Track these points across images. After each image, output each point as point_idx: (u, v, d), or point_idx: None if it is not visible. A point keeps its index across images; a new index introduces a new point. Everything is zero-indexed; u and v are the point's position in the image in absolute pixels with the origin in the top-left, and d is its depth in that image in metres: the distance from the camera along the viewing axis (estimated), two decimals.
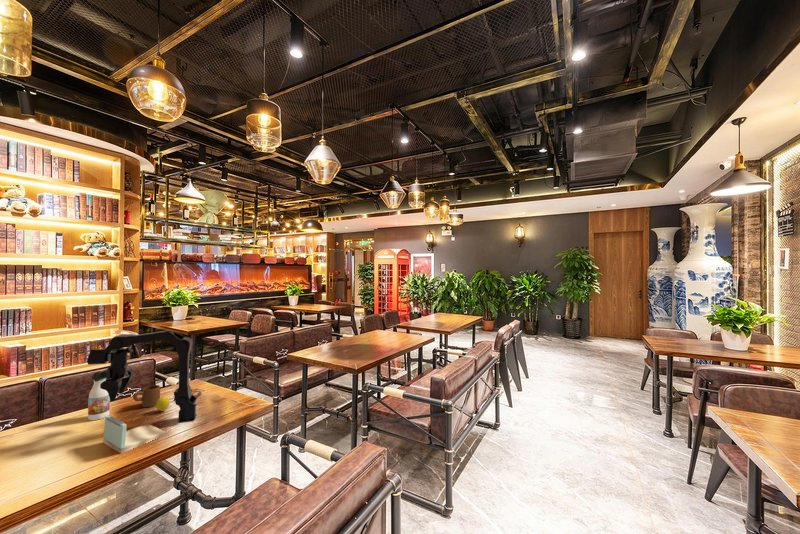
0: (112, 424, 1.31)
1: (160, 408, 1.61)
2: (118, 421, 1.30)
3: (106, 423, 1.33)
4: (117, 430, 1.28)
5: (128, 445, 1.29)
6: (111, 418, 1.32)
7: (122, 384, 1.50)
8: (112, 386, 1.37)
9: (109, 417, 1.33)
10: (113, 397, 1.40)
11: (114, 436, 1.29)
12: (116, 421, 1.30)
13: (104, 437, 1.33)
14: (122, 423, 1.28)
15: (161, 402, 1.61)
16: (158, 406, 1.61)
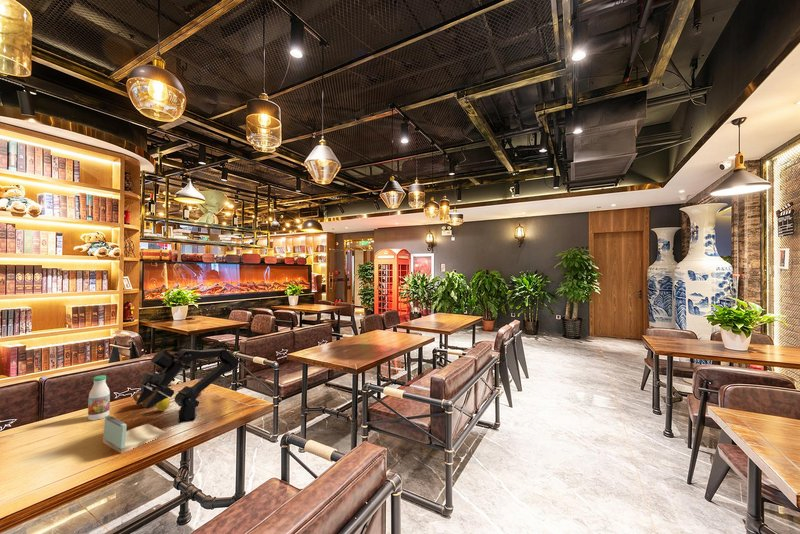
0: (112, 424, 1.31)
1: (160, 408, 1.61)
2: (118, 421, 1.30)
3: (106, 423, 1.33)
4: (117, 430, 1.28)
5: (128, 445, 1.29)
6: (111, 418, 1.32)
7: (145, 395, 1.44)
8: (169, 394, 1.40)
9: (109, 417, 1.33)
10: (151, 405, 1.38)
11: (114, 436, 1.29)
12: (116, 421, 1.30)
13: (104, 437, 1.33)
14: (122, 423, 1.28)
15: (161, 402, 1.61)
16: (158, 406, 1.61)
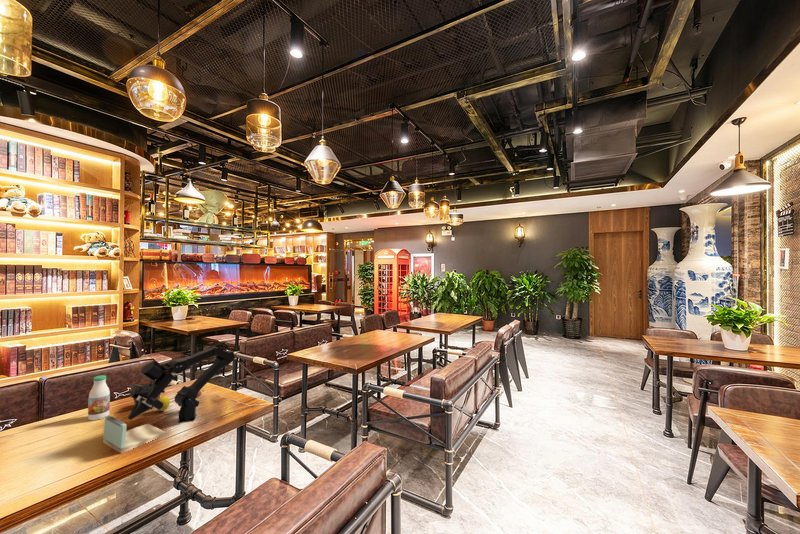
0: (112, 424, 1.31)
1: None
2: (118, 421, 1.30)
3: (106, 423, 1.33)
4: (117, 430, 1.28)
5: (128, 445, 1.29)
6: (111, 418, 1.32)
7: None
8: (158, 407, 1.36)
9: (109, 417, 1.33)
10: (134, 416, 1.36)
11: (114, 436, 1.29)
12: (116, 421, 1.30)
13: (104, 437, 1.33)
14: (122, 423, 1.28)
15: None
16: None
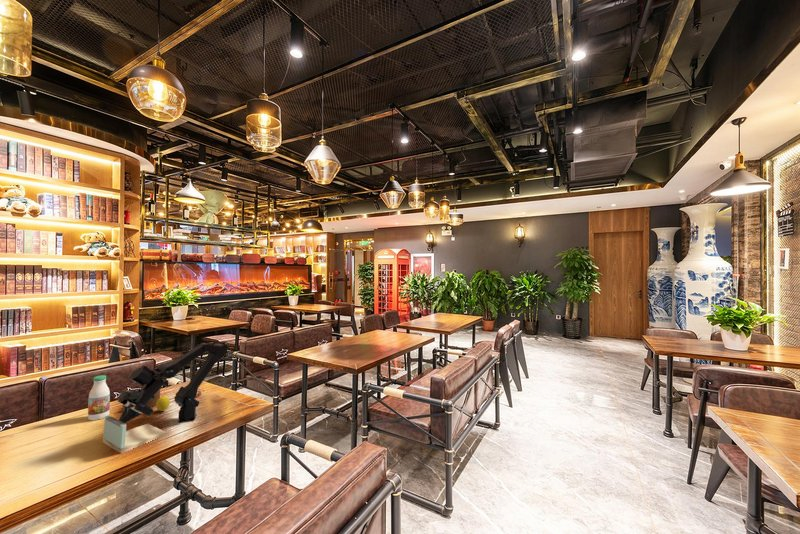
0: (112, 424, 1.31)
1: (160, 408, 1.61)
2: (118, 421, 1.30)
3: (106, 423, 1.33)
4: (117, 430, 1.28)
5: (128, 445, 1.29)
6: (111, 418, 1.32)
7: None
8: (147, 413, 1.33)
9: (109, 417, 1.33)
10: (123, 422, 1.32)
11: (114, 436, 1.29)
12: (116, 422, 1.29)
13: (104, 437, 1.33)
14: (122, 423, 1.28)
15: (161, 402, 1.61)
16: (158, 406, 1.61)
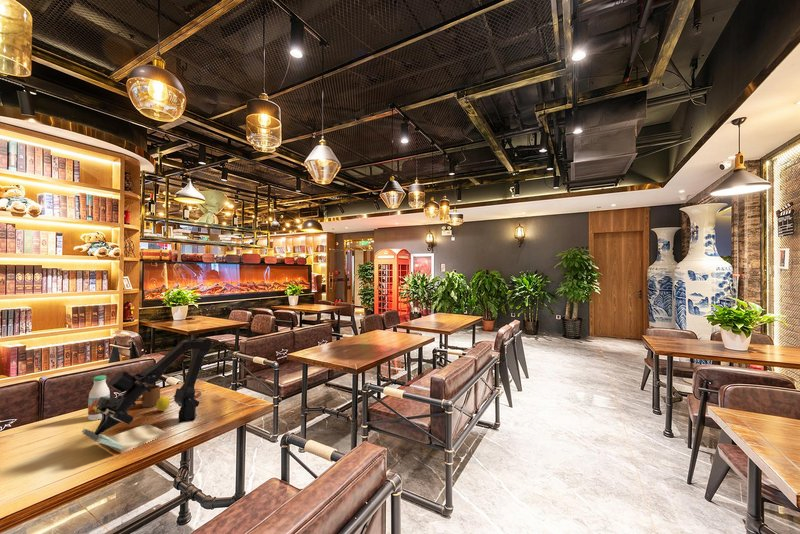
0: None
1: (160, 408, 1.61)
2: (93, 436, 1.23)
3: None
4: None
5: (128, 445, 1.29)
6: (87, 433, 1.26)
7: None
8: (126, 421, 1.27)
9: (85, 432, 1.27)
10: (101, 431, 1.26)
11: None
12: (92, 437, 1.23)
13: None
14: (97, 438, 1.22)
15: (161, 402, 1.61)
16: (158, 406, 1.61)
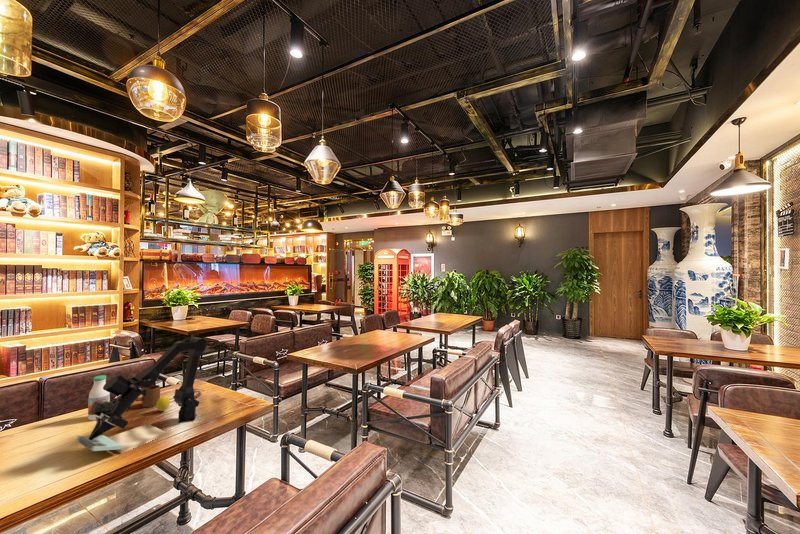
0: None
1: (160, 408, 1.61)
2: (87, 444, 1.22)
3: None
4: None
5: (128, 445, 1.29)
6: (81, 441, 1.24)
7: None
8: (121, 426, 1.25)
9: (79, 440, 1.25)
10: (95, 436, 1.25)
11: None
12: (86, 446, 1.22)
13: None
14: (91, 447, 1.20)
15: (161, 402, 1.61)
16: (158, 406, 1.61)
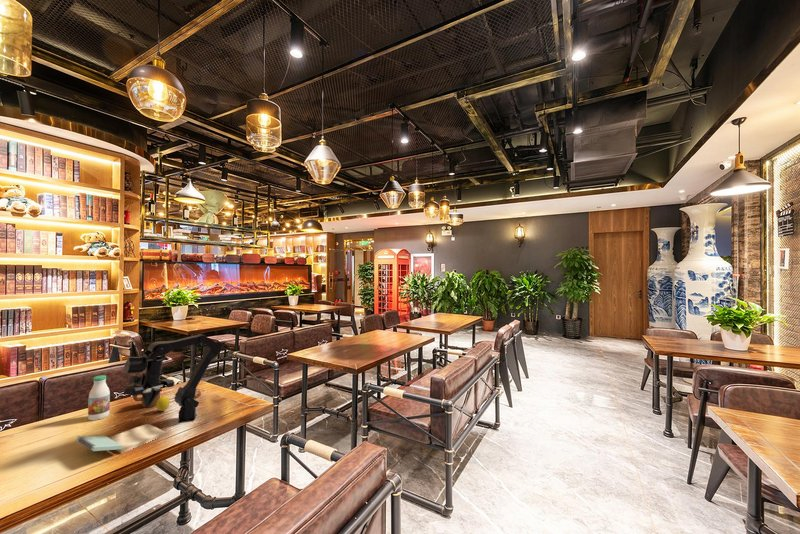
0: None
1: (160, 408, 1.61)
2: (87, 444, 1.22)
3: None
4: None
5: (128, 445, 1.29)
6: (81, 441, 1.24)
7: None
8: (130, 393, 1.34)
9: (79, 440, 1.25)
10: (146, 403, 1.41)
11: None
12: (86, 446, 1.22)
13: None
14: (91, 447, 1.20)
15: (161, 402, 1.61)
16: (158, 406, 1.61)
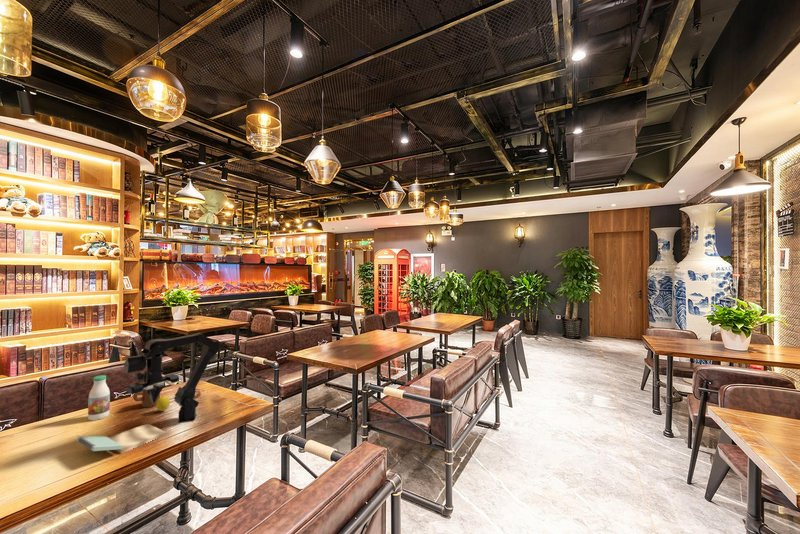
0: None
1: (160, 408, 1.61)
2: (87, 444, 1.22)
3: None
4: None
5: (128, 445, 1.29)
6: (81, 441, 1.24)
7: None
8: (130, 392, 1.35)
9: (79, 440, 1.25)
10: (151, 399, 1.43)
11: None
12: (86, 446, 1.22)
13: None
14: (91, 447, 1.20)
15: (161, 402, 1.61)
16: (158, 406, 1.61)
